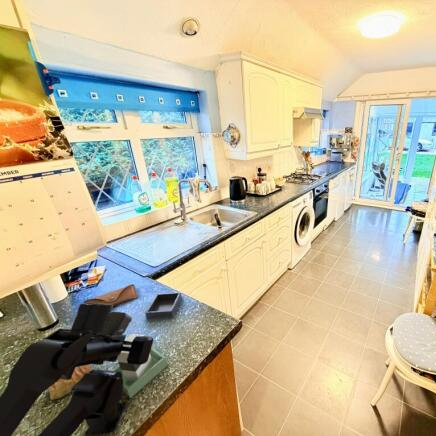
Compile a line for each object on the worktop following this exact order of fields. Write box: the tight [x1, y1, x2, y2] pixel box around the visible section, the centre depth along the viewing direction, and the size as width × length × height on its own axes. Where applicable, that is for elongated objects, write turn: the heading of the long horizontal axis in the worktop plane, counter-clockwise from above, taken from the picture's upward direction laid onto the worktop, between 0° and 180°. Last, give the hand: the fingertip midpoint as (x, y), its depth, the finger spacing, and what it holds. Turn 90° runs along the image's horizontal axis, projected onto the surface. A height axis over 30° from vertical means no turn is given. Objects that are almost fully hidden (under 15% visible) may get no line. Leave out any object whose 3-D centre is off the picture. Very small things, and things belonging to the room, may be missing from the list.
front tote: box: [111, 346, 168, 399], centre depth 71 cm, size 11×10×4 cm
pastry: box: [47, 365, 93, 401], centre depth 68 cm, size 9×7×4 cm
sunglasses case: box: [83, 284, 139, 309], centre depth 99 cm, size 18×7×7 cm, turn 133°
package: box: [117, 333, 153, 382], centre depth 69 cm, size 6×5×12 cm
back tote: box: [144, 291, 183, 320], centre depth 96 cm, size 11×10×4 cm
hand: (136, 344), depth 69 cm, fingers open, 9 cm apart
